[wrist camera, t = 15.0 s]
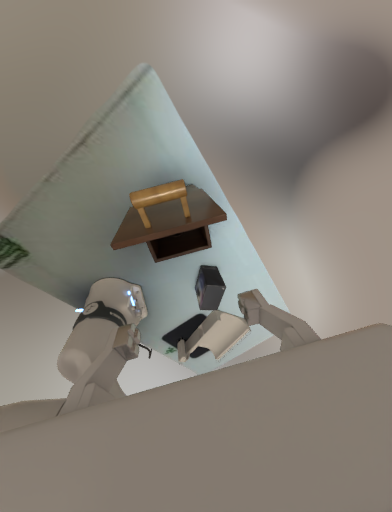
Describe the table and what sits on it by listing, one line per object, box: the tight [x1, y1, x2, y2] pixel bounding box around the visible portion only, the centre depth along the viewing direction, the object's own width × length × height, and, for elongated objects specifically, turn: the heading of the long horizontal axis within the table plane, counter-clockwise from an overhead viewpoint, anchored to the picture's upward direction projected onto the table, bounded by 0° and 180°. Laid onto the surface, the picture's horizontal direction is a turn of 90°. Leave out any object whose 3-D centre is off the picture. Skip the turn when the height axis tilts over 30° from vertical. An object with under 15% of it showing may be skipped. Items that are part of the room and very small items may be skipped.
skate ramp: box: [178, 310, 251, 362], centre depth 68 cm, size 25×23×10 cm
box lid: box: [110, 179, 227, 250], centre depth 22 cm, size 13×14×5 cm
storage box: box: [146, 184, 212, 263], centre depth 37 cm, size 13×14×12 cm
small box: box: [195, 266, 226, 310], centre depth 51 cm, size 11×6×10 cm, turn 169°
